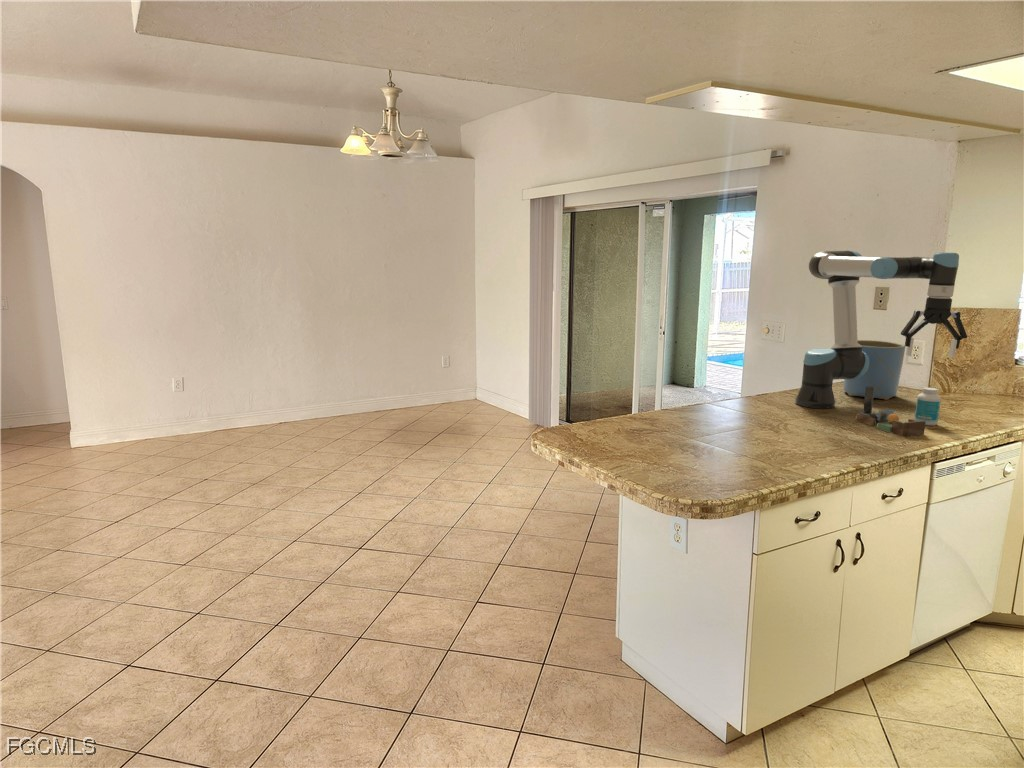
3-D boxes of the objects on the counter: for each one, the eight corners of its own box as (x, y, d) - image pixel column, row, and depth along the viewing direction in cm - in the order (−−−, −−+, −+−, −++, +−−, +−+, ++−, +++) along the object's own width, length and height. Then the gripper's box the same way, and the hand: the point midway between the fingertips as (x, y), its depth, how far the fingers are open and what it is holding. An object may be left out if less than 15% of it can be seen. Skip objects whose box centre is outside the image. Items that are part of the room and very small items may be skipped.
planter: (897, 403, 267) (904, 349, 262) (838, 396, 279) (844, 344, 274) (899, 393, 286) (906, 342, 281) (843, 387, 298) (849, 338, 293)
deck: (876, 428, 229) (877, 423, 229) (898, 426, 232) (899, 421, 231) (889, 432, 224) (889, 426, 224) (911, 430, 227) (912, 425, 226)
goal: (891, 432, 224) (892, 418, 223) (909, 430, 226) (911, 417, 225) (905, 436, 219) (906, 422, 218) (923, 434, 221) (925, 421, 220)
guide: (855, 419, 240) (856, 413, 240) (870, 418, 242) (871, 412, 242) (872, 425, 233) (873, 419, 232) (887, 424, 235) (888, 417, 234)
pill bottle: (940, 426, 231) (946, 391, 228) (918, 425, 233) (923, 390, 230) (931, 421, 238) (936, 387, 236) (910, 420, 240) (915, 386, 237)
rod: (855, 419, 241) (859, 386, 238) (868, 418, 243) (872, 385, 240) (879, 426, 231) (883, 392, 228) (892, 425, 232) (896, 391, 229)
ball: (884, 422, 230) (885, 412, 229) (892, 421, 230) (893, 412, 230) (892, 424, 226) (894, 415, 225) (900, 424, 227) (902, 414, 226)
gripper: (903, 297, 219) (894, 356, 224) (985, 299, 213) (974, 360, 218) (896, 295, 226) (887, 352, 231) (975, 297, 220) (964, 356, 225)
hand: (929, 356), depth 224 cm, fingers open, 13 cm apart
